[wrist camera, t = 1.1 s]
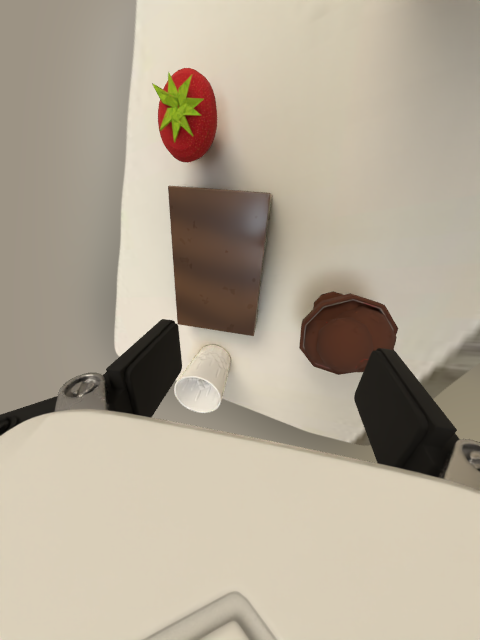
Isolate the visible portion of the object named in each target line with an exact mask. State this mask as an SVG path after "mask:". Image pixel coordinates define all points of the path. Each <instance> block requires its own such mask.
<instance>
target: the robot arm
mask: <svg viewBox="0 0 480 640" xmlns="http://www.w3.org/2000/svg"><path fill="white" fill-rule="evenodd" d="M181 369H182V361H181V351H180V341H179V331H178V325H177V324H175V322H174V321H172V320H165V319H162V320H161V321H159V322H158V323H157V324H156V325H155V326H154V327H153V328H152V329H150V330H149V331H148V332H147V333H146V334H145V335H144V336H143V337H142V338H140V339H139V340H138V341H137V342H136V343H135V344H134V345H133V346H131V347H130V348H129V349H128V350H127V351H126V352H125V353H124V354H122V355H121V356H120V357H119V358H118V359H117V360H116V361H115V362H113V363H112V364H111V365H110V366H109V367H108V368H107V369H106V370H107V372H106V373H105V374H104V375H101V374H99V373H86V374H82V375H80V376H76V377H74V378H72V379H70V380H69V381H68V382H66V383H65V384H64V385H63V386H62V387H61V388H60V390H59V393H58V396H57V397H53V398H50V399H47V400H44V401H41V402H38V403H35V404H32V405H29V406H26V407H23V408H20V409H17V410H14V411H11V412H7V413H5V414H1V415H0V640H480V442H477V441H474V440H470V439H459V438H458V437H457V435H456V434H455V432H456V431H457V430H456V428H455V427H454V426H453V424H452V423H451V422H450V421H449V419H448V418H447V417H446V415H445V414H444V413H443V412H442V410H441V409H440V408H439V407H438V405H437V404H436V403H435V402H434V400H433V399H432V398H431V396H430V395H429V394H428V393H427V391H426V390H425V389H424V387H423V386H422V385H421V384H420V382H419V381H418V380H417V379H416V377H415V376H414V375H413V373H412V372H411V371H410V370H409V368H408V367H407V366H406V365H405V363H404V362H403V361H402V359H401V358H400V357H399V356H398V354H397V353H396V352H395V351H394V350H391V349H383V348H378V349H377V350H376V351H372V353H371V355H370V357H369V360H368V362H367V365H366V367H365V370H364V372H363V375H362V377H361V380H360V382H359V385H358V387H357V390H356V392H355V396H354V399H355V403H356V406H357V408H358V411H359V414H360V417H361V419H362V422H363V425H364V427H365V430H366V433H367V436H368V438H369V441H370V444H371V446H372V449H373V452H374V454H375V457H376V460H377V463H373V462H369V461H365V460H360V459H355V458H350V457H345V456H341V455H336V454H331V453H326V452H321V451H316V450H311V449H307V448H302V447H297V446H292V445H287V444H282V443H278V442H272V441H268V440H263V439H258V438H253V437H248V436H242V435H238V434H233V433H228V432H223V431H218V430H212V429H208V428H203V427H198V426H193V425H187V424H182V423H177V422H172V421H167V420H162V419H156V418H151V417H152V415H153V414H154V412H155V411H156V409H157V408H158V406H159V405H160V403H161V401H162V400H163V398H164V396H165V395H166V393H167V392H168V390H169V389H170V387H171V386H172V384H173V383H174V381H175V380H176V378H177V377H178V375H179V373H180V372H181Z"/></svg>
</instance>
